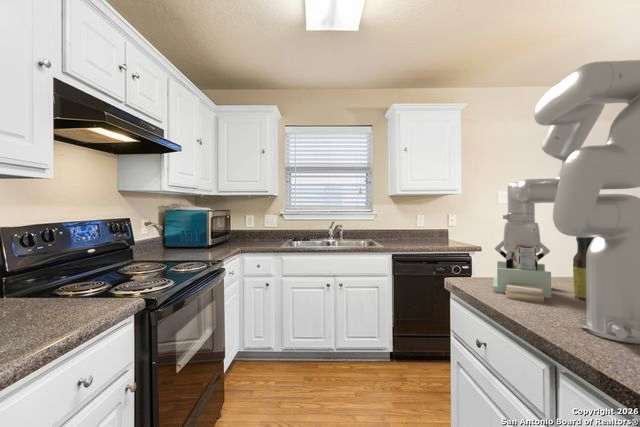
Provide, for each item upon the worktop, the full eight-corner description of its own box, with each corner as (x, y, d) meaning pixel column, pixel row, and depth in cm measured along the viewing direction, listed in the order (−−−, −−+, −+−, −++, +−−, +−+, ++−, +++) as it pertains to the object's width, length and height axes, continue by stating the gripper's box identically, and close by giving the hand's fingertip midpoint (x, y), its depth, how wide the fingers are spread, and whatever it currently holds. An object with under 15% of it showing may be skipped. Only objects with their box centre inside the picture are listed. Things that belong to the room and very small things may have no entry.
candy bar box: (507, 287, 106) (507, 242, 106) (523, 288, 105) (523, 242, 104) (519, 296, 95) (518, 246, 95) (537, 297, 94) (536, 246, 94)
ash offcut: (541, 297, 85) (541, 290, 85) (506, 291, 91) (506, 285, 91) (543, 293, 89) (543, 287, 89) (509, 288, 95) (509, 283, 95)
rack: (551, 302, 90) (551, 272, 90) (493, 295, 98) (493, 268, 97) (544, 289, 103) (544, 263, 103) (493, 284, 111) (493, 260, 111)
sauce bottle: (597, 301, 90) (597, 235, 89) (605, 307, 84) (605, 237, 84) (570, 298, 93) (570, 235, 92) (576, 304, 87) (576, 237, 87)
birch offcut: (543, 303, 86) (543, 296, 86) (505, 297, 91) (505, 292, 91) (543, 298, 90) (543, 292, 90) (506, 294, 95) (506, 288, 95)
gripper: (491, 219, 101) (491, 271, 101) (555, 219, 92) (555, 276, 92) (491, 218, 107) (492, 267, 108) (551, 218, 98) (551, 272, 99)
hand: (521, 271), depth 100 cm, fingers closed on candy bar box, 5 cm apart
